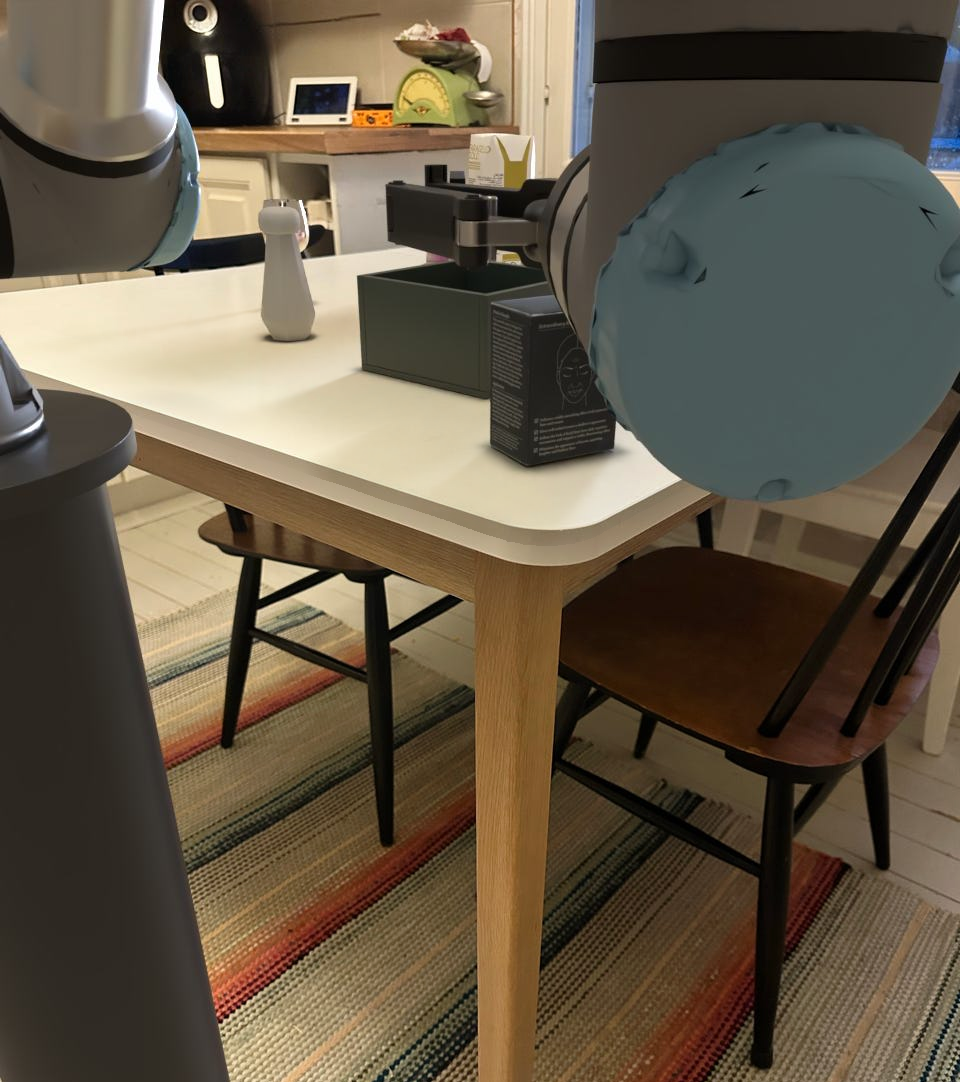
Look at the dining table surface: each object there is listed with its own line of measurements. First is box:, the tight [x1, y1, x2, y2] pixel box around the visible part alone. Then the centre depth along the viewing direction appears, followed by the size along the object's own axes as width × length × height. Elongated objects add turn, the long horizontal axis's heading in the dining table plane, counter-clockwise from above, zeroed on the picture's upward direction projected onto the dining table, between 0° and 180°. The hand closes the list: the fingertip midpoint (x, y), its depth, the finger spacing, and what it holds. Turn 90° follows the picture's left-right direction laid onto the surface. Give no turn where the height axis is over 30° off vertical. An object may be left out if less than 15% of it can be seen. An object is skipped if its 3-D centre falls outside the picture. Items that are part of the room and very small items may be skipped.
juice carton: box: [468, 132, 536, 265], centre depth 126 cm, size 8×9×19 cm
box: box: [489, 295, 617, 467], centre depth 66 cm, size 8×6×11 cm
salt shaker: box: [257, 206, 316, 342], centre depth 98 cm, size 6×6×13 cm
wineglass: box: [261, 198, 310, 253], centre depth 115 cm, size 6×6×12 cm
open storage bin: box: [356, 260, 553, 400], centre depth 88 cm, size 16×16×9 cm
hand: (582, 199), depth 50 cm, fingers open, 13 cm apart
